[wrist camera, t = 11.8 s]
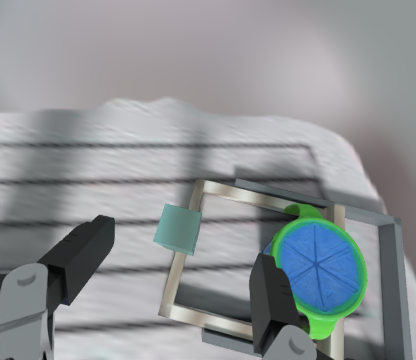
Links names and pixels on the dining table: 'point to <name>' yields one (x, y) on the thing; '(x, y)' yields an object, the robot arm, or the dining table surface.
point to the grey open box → (185, 244)
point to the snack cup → (319, 268)
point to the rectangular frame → (390, 272)
